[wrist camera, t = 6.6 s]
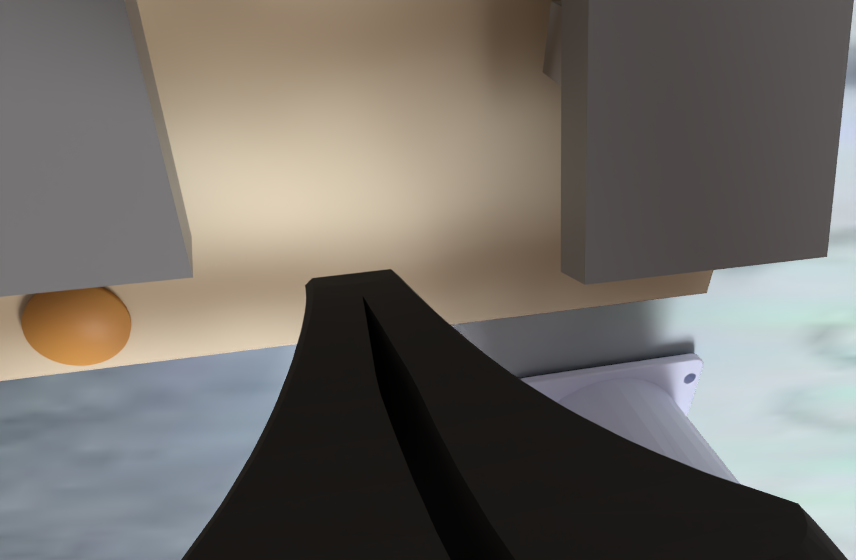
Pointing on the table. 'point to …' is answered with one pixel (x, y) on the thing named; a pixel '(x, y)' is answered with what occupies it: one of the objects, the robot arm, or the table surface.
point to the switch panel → (339, 176)
